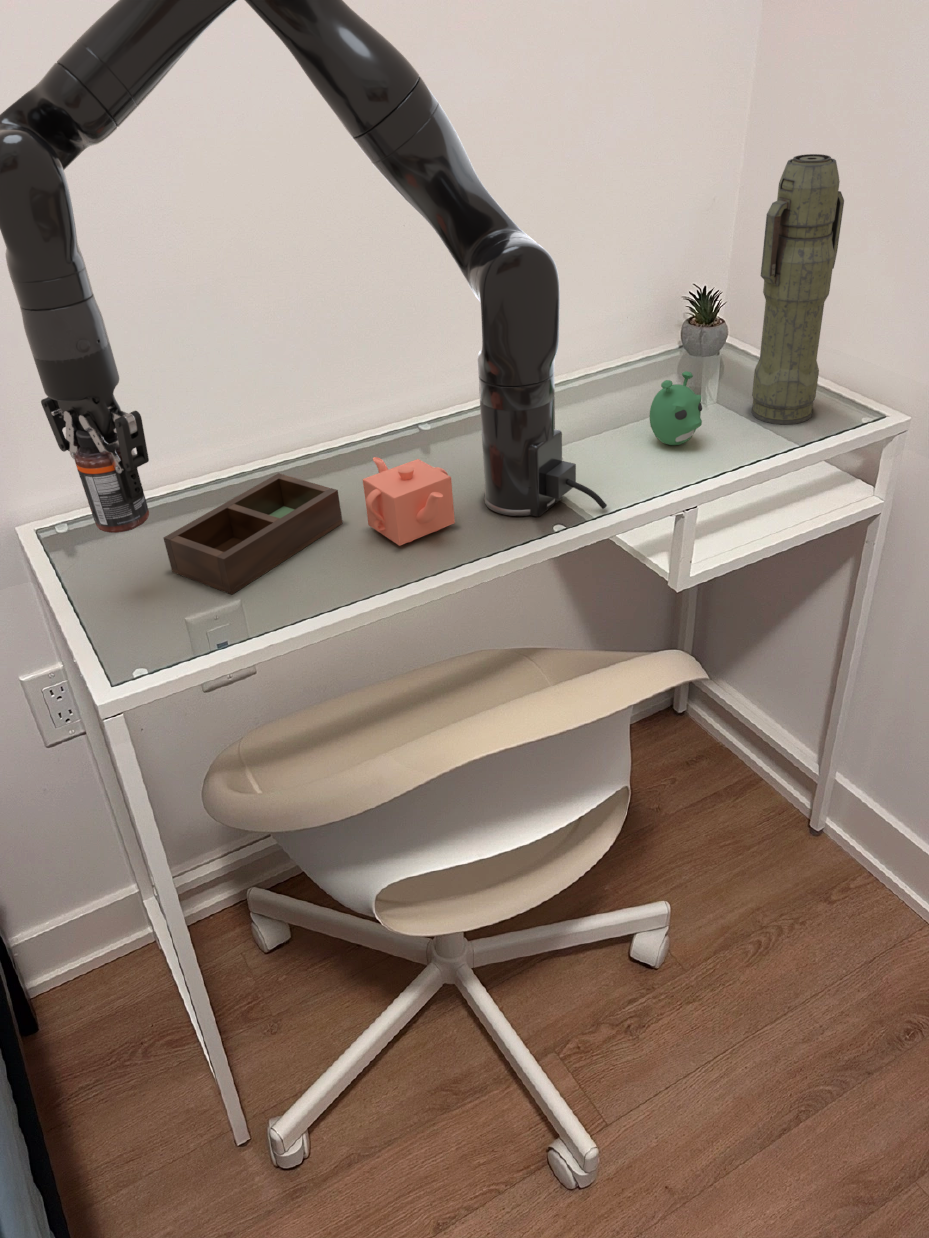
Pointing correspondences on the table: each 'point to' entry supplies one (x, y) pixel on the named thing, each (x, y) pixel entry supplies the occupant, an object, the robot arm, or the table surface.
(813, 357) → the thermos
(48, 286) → the robot arm
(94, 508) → the supplement bottle
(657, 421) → the alien toy
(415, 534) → the teapot
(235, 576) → the organizer
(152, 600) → the table surface
